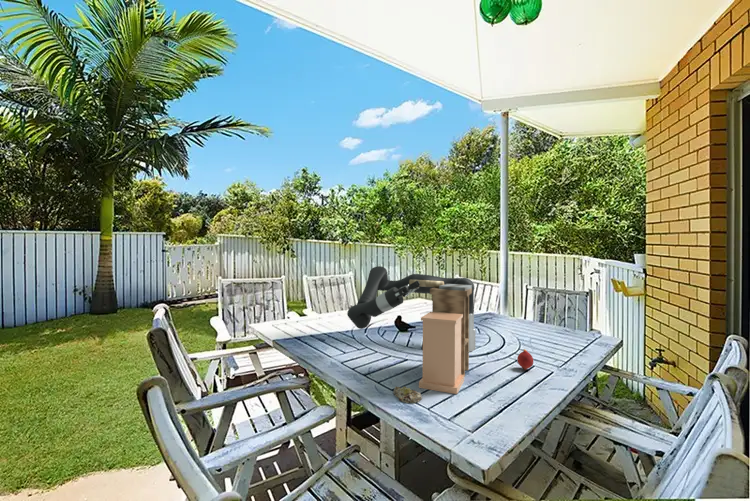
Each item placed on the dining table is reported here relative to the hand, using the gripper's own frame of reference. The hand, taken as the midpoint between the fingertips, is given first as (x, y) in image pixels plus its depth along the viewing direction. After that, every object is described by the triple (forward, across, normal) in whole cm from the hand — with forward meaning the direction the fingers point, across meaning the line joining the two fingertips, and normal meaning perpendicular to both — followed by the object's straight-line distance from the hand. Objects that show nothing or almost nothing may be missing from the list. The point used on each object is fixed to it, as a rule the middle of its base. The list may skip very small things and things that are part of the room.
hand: (422, 281), depth 142 cm
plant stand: (-7, 0, +35) cm, 36 cm away
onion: (+15, +14, +49) cm, 53 cm away
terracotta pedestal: (-7, -14, +35) cm, 39 cm away
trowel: (+4, +1, +5) cm, 7 cm away
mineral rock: (-14, -29, +32) cm, 45 cm away
